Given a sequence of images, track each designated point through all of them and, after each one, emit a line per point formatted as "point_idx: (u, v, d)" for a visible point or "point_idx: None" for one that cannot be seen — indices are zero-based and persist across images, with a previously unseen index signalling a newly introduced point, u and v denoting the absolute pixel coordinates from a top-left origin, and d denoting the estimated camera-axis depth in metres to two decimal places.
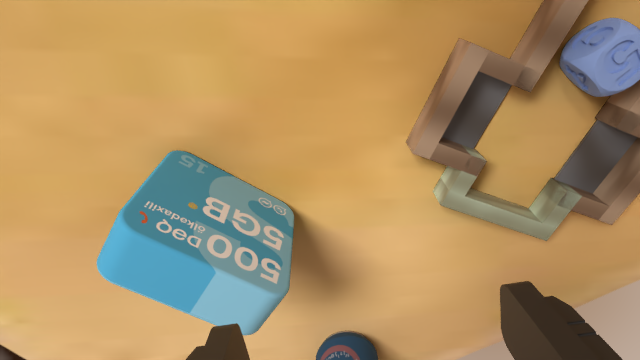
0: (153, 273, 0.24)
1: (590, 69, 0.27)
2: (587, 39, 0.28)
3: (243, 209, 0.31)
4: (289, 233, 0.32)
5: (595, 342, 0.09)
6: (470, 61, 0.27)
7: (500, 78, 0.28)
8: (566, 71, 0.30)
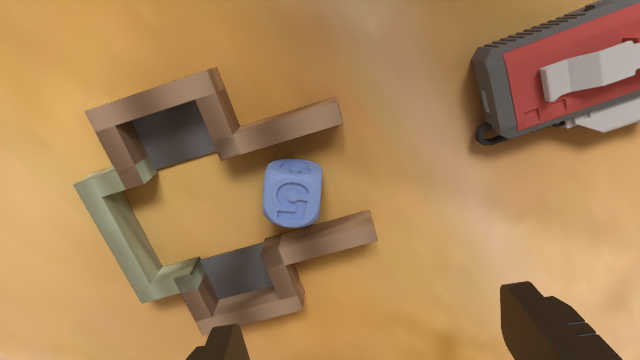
0: None
1: (268, 183, 0.26)
2: (295, 165, 0.28)
3: None
4: None
5: (595, 342, 0.09)
6: (194, 84, 0.25)
7: (207, 124, 0.26)
8: None
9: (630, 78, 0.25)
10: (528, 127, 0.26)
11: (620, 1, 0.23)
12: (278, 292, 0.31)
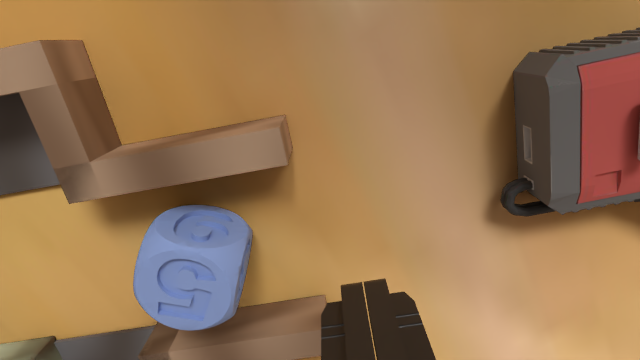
0: None
1: (143, 256, 0.15)
2: (204, 222, 0.17)
3: None
4: None
5: (417, 331, 0.10)
6: (16, 64, 0.14)
7: (42, 139, 0.14)
8: None
9: None
10: (596, 199, 0.15)
11: None
12: None
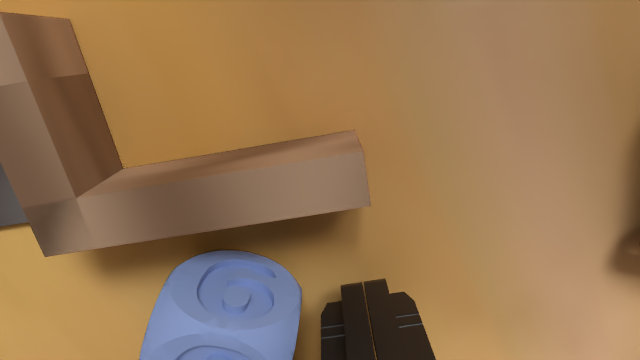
0: None
1: (153, 339, 0.10)
2: (239, 280, 0.12)
3: None
4: None
5: (417, 331, 0.10)
6: None
7: (4, 164, 0.10)
8: None
9: None
10: None
11: None
12: None
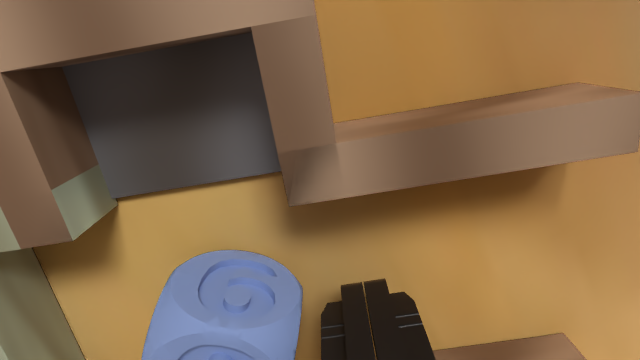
0: None
1: (155, 339, 0.10)
2: (239, 279, 0.12)
3: None
4: None
5: (417, 331, 0.10)
6: None
7: (271, 105, 0.09)
8: None
9: None
10: None
11: None
12: None
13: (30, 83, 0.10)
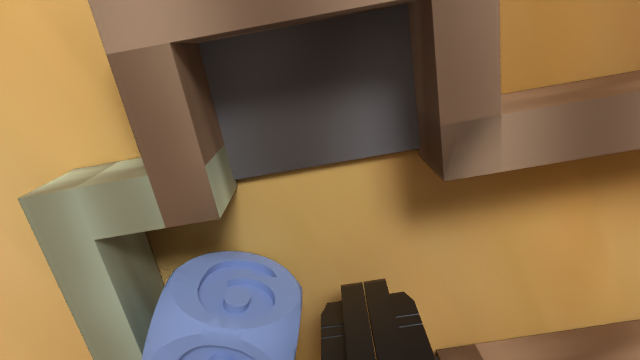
0: None
1: (155, 340, 0.10)
2: (239, 279, 0.12)
3: None
4: None
5: (416, 331, 0.10)
6: None
7: (441, 76, 0.09)
8: None
9: None
10: None
11: None
12: None
13: (185, 56, 0.10)
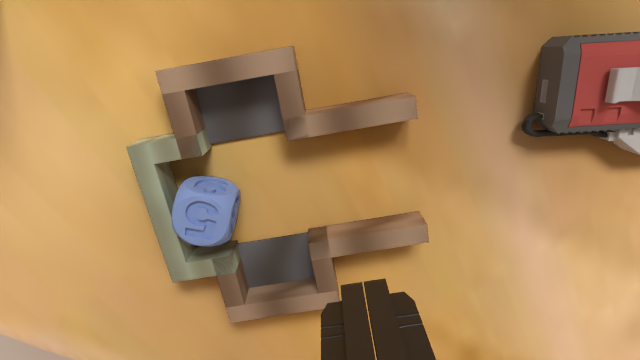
0: None
1: (178, 200, 0.26)
2: (211, 184, 0.28)
3: None
4: None
5: (417, 331, 0.10)
6: (276, 59, 0.25)
7: (280, 101, 0.25)
8: None
9: None
10: (578, 126, 0.26)
11: None
12: (318, 284, 0.30)
13: (189, 94, 0.26)
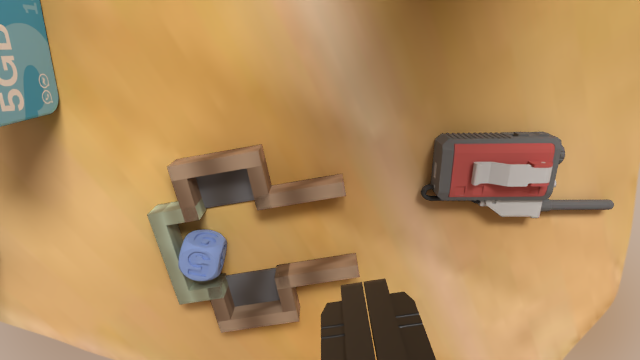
0: None
1: (182, 250, 0.38)
2: (206, 237, 0.40)
3: (18, 63, 0.32)
4: (28, 114, 0.33)
5: (417, 331, 0.10)
6: (248, 158, 0.37)
7: (251, 185, 0.37)
8: None
9: (525, 187, 0.37)
10: (455, 197, 0.38)
11: (533, 138, 0.36)
12: (282, 306, 0.42)
13: (190, 179, 0.38)
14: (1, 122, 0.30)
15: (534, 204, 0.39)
